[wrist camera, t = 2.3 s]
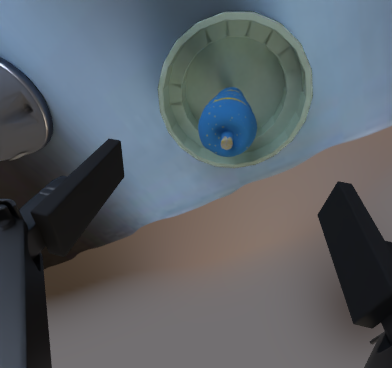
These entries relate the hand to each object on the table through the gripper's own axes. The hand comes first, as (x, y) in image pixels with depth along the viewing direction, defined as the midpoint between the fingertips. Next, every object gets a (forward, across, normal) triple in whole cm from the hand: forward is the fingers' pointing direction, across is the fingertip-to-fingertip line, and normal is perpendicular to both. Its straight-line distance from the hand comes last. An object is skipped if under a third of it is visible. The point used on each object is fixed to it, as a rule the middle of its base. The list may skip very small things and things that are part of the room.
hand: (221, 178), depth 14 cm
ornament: (+19, 0, 0) cm, 19 cm away
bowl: (+19, 0, 0) cm, 19 cm away
